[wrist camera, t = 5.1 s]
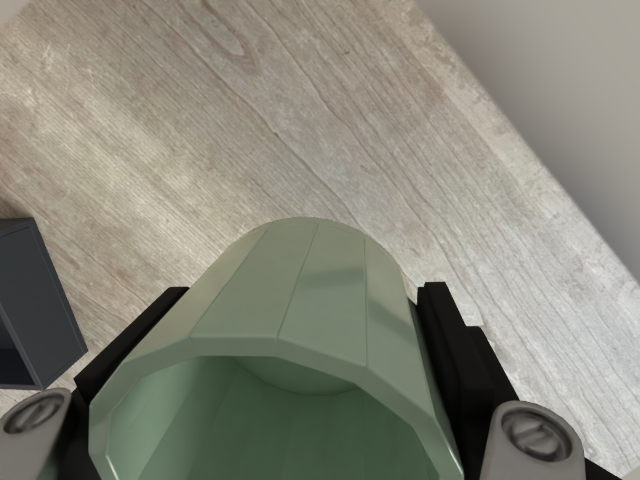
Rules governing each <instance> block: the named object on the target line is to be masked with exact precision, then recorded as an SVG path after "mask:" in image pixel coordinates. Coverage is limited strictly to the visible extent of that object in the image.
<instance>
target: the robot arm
mask: <svg viewBox="0 0 640 480" xmlns="http://www.w3.org/2000/svg"><path fill="white" fill-rule="evenodd" d="M189 289H190V288H189V287H169V288H168V289H167V290H166V291H165V292H164V293H163V294H162V295H161V296H159V297H158V298H157V299H156V300H155V301H154V302H153V303H152V304H151V305H150V306H149V307H148V308H147V309H146V310H145V311H144V312H143V313H142V314H141V315H140V316H138V317H137V318H136V319H135V320H134V321H133V322H132V323H131V324H130V325H129V326H128V327H127V328H126V329H125V330H124V331H123V332H122V333H121V334H120V335H119V336H117V337H116V338H115V339H114V340H113V341H112V342H111V343H110V344H109V345H108V346H107V347H106V348H105V349H104V350H103V351H102V352H101V353H100V354H99V355H98V356H96V357H95V358H94V359H93V360H92V361H91V362H90V363H89V364H88V365H87V366H86V367H85V368H84V369H83V370H82V371H81V372H80V373H79V374H78V375H77V376H75V377H74V378H73V379H74V381H75V383H76V385H77V388H76V389H75V390H74V391H73V392H72V393H71V392H70V390H68V389H66V388H52V389H47V390H44V391H41V392H38V393H36V394H34V395H32V396H30V397H28V398H26V399H24V400H23V401H21V402H19V403H18V404H16V405H15V406H13V407H12V408H11V409H10V410H9V411H8V412H6V413H5V414H4V415H3V416H2V418H1V419H0V480H101V478H100V476H99V474H98V472H97V470H96V468H95V466H94V464H93V462H92V460H91V458H90V456H89V452H88V432H89V406H90V403H91V401H92V400H93V398H94V397H95V396H96V394H97V393H98V392H99V391H100V389H101V388H102V387H103V385H104V384H105V383H106V381H107V380H108V379H109V378H110V376H111V375H112V374H113V372H114V371H115V370H116V368H117V367H118V366H119V365H120V363H121V362H122V361H123V360H124V359H125V358H126V357H127V355H128V354H129V353H130V352H131V351H132V350H133V349H134V348H135V347H136V346H137V345H138V344H139V343H140V342H141V340H142V339H143V338H144V337H145V336H146V335H147V334H148V333H149V332H150V331H151V330H152V329H153V328H154V326H155V325H156V324H157V323H158V322H159V321H160V320H161V319H162V318H163V317H164V316H165V315H166V314H167V312H168V311H169V310H170V309H171V308H172V307H173V306H174V305H175V304H176V303H177V302H178V301H179V300H180V299H181V297H182V296H183V295H184V294H185V293H186V292H187V291H188V290H189ZM417 306H418V310H419V313H420V317H421V321H422V324H423V328H424V331H425V335H426V339H427V342H428V346H429V349H430V353H431V357H432V360H433V364H434V367H435V371H436V375H437V378H438V382H439V385H440V389H441V393H442V396H443V400H444V403H445V407H446V411H447V414H448V417H449V420H450V423H451V427H452V431H453V434H454V438H455V441H456V445H457V448H458V452H459V456H460V459H461V463H462V466H463V470H464V480H622V479H620V478H618V477H617V476H615V475H613V474H612V473H610V472H608V471H607V470H605V469H603V468H602V467H600V466H598V465H597V464H595V463H593V462H592V461H590V460H588V459H587V458H585V457H584V450H583V446H582V442H581V439H580V438H579V436H578V435H577V433H576V432H575V430H574V429H573V428H572V427H571V426H570V425H569V424H568V423H567V422H566V421H565V420H564V419H563V418H562V417H560V416H559V415H557V414H556V413H554V412H553V411H551V410H549V409H547V408H545V407H543V406H540V405H538V404H535V403H531V402H527V401H520V400H519V398H518V396H517V394H516V392H515V390H514V388H513V387H512V385H511V383H510V381H509V379H508V377H507V375H506V373H505V372H504V370H503V368H502V366H501V364H500V362H499V360H498V359H497V357H496V355H495V353H494V351H493V349H492V347H491V345H490V344H489V342H488V340H487V338H486V336H485V334H484V332H483V331H482V329H481V328H480V327H478V326H466V325H465V323H464V321H463V319H462V317H461V314H460V312H459V310H458V308H457V306H456V304H455V302H454V300H453V297H452V295H451V293H450V291H449V289H448V287H447V285H446V283H445V282H425V284H424V287H418V292H417Z"/></svg>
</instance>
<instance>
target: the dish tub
mask: <svg viewBox="0 0 640 480" xmlns="http://www.w3.org/2000/svg"><path fill="white" fill-rule="evenodd" d="M87 352H88V349H87V347H86V344H85V342H84V340H83V337H82V335H81V332H80V330H79V327H78V325H77V323H76V320H75V318H74V315H73V313H72V310H71V308H70V306H69V303H68V301H67V298H66V296H65V293H64V291H63V289H62V286H61V284H60V281H59V279H58V276H57V274H56V272H55V269H54V267H53V264H52V262H51V259H50V257H49V254H48V252H47V250H46V247H45V245H44V242H43V240H42V237H41V235H40V233H39V230H38V228H37V225H36V223H35V220H34V218H17V219H0V389H16V390H40V391H44V390H45V389H46V388H47V387H48V386H50V385H51V384H52V383H53V382H54V381H55V380H56V379H57V378H59V377H60V376H61V375H62V374H63V373H64V372H65V371H66V370H68V369H69V368H70V367H71V366H72V365H73V364H74V363H75V362H77V361H78V360H79V359H80V358H81V357H82V356H83V355H84V354H85V353H87Z"/></svg>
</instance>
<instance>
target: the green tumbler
mask: <svg viewBox="0 0 640 480" xmlns="http://www.w3.org/2000/svg"><path fill="white" fill-rule="evenodd" d="M88 452H89V456H90V458H91V460H92V462H93V464H94V466H95V468H96V470H97V472H98V474H99V476H100V478H101V480H464V470H463V466H462V463H461V459H460V456H459V452H458V448H457V445H456V441H455V438H454V434H453V431H452V427H451V423H450V420H449V417H448V414H447V411H446V407H445V403H444V400H443V396H442V393H441V389H440V385H439V382H438V378H437V375H436V371H435V367H434V364H433V360H432V357H431V353H430V349H429V346H428V342H427V339H426V335H425V331H424V328H423V324H422V321H421V317H420V313H419V310H418V306H417V303H416V301H415V299H414V297H413V294H412V291H411V288H410V285H409V283H408V280H407V278H406V276H405V274H404V272H403V271H402V269H401V267H400V265H399V264H398V263H397V262H396V260H395V259H394V258H393V256H392V255H391V254H390V253H389V252H388V251H387V250H386V249H385V248H384V247H383V246H382V245H380V244H379V243H378V242H376V241H375V240H374V239H372V238H371V237H370V236H368V235H366V234H364V233H363V232H361V231H359V230H357V229H355V228H353V227H350V226H348V225H345V224H343V223H339V222H336V221H332V220H328V219H322V218H315V217H293V218H285V219H280V220H276V221H272V222H268V223H266V224H263V225H261V226H258V227H256V228H254V229H253V230H251V231H249V232H247V233H246V234H244V235H243V236H242V237H240V238H239V239H238V240H237V241H235V242H233V243H232V244H231V245H230V246H229V247H228V248H227V249H226V250H225V251H224V252H223V253H222V254H221V255H220V257H219V258H218V259H217V260H216V261H215V262H214V263H213V264H212V265H211V266H210V267H209V268H208V269H207V271H206V272H205V273H204V274H203V275H202V276H201V277H200V278H199V279H198V280H197V281H196V282H195V283H194V285H193V286H192V287H191V288H190V289H189V290H188V291H187V292H186V293H185V294H184V295H183V296H182V297H181V299H180V300H179V301H178V302H177V303H176V304H175V305H174V306H173V307H172V308H171V309H170V310H169V311H168V312H167V314H166V315H165V316H164V317H163V318H162V319H161V320H160V321H159V322H158V323H157V324H156V325H155V326H154V328H153V329H152V330H151V331H150V332H149V333H148V334H147V335H146V336H145V337H144V338H143V339H142V340H141V342H140V343H139V344H138V345H137V346H136V347H135V348H134V349H133V350H132V351H131V352H130V353H129V354H128V355H127V357H126V358H125V359H124V360H123V361H122V362H121V363H120V365H119V366H118V367H117V368H116V370H115V371H114V372H113V374H112V375H111V376H110V378H109V379H108V380H107V381H106V383H105V384H104V385H103V387H102V388H101V389H100V391H99V392H98V393H97V394H96V396H95V397H94V398H93V400H92V401H91V403H90V406H89V432H88Z"/></svg>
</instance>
